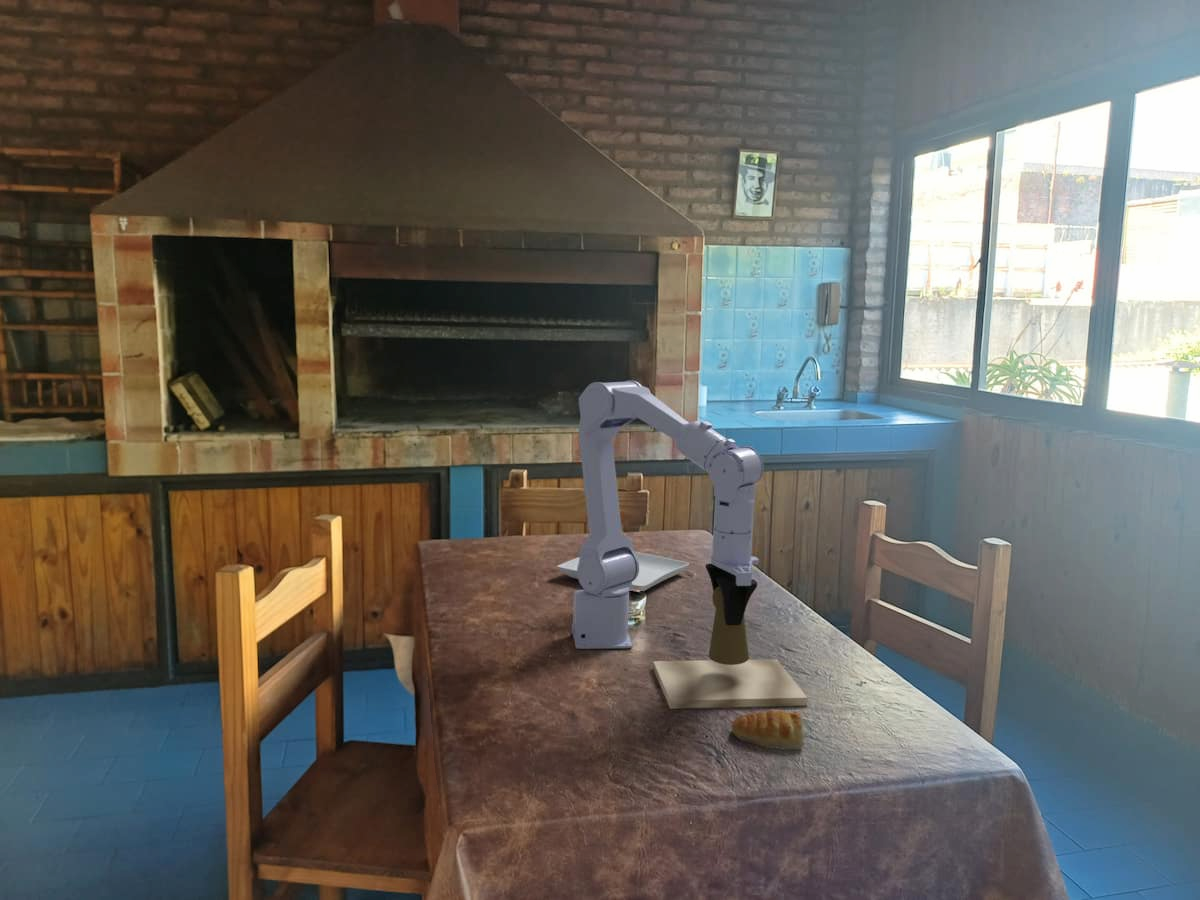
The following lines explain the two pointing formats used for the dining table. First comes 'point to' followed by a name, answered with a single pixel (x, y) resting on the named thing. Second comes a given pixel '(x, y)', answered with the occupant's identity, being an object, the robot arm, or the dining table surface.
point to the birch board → (727, 684)
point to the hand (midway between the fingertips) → (728, 617)
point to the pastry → (771, 729)
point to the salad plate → (649, 569)
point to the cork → (727, 637)
